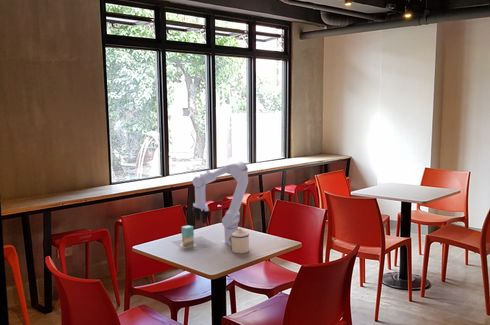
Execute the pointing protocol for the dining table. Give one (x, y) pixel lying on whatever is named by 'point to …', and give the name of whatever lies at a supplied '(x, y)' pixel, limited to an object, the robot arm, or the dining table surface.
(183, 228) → the teal block
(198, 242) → the gray board
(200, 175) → the robot arm
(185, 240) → the birch block
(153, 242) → the dining table surface
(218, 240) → the dining table surface
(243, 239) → the teacup with lid
